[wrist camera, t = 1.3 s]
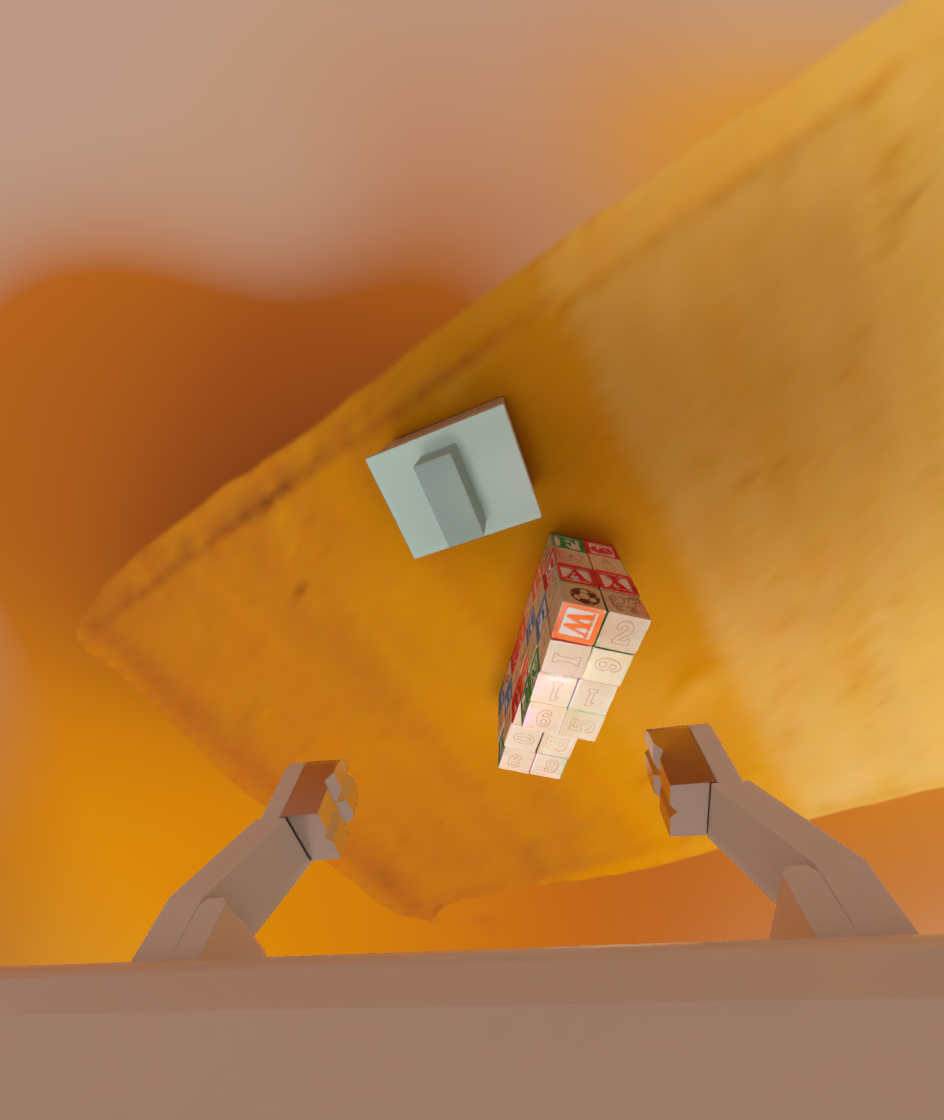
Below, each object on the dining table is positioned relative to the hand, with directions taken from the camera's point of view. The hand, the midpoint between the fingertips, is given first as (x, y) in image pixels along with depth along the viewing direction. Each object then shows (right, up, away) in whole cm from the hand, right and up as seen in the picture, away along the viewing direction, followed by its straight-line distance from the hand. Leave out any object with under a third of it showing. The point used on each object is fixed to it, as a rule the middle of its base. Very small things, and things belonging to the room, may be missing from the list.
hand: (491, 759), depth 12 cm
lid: (-2, +12, +21) cm, 24 cm away
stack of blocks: (+8, -2, +33) cm, 34 cm away
